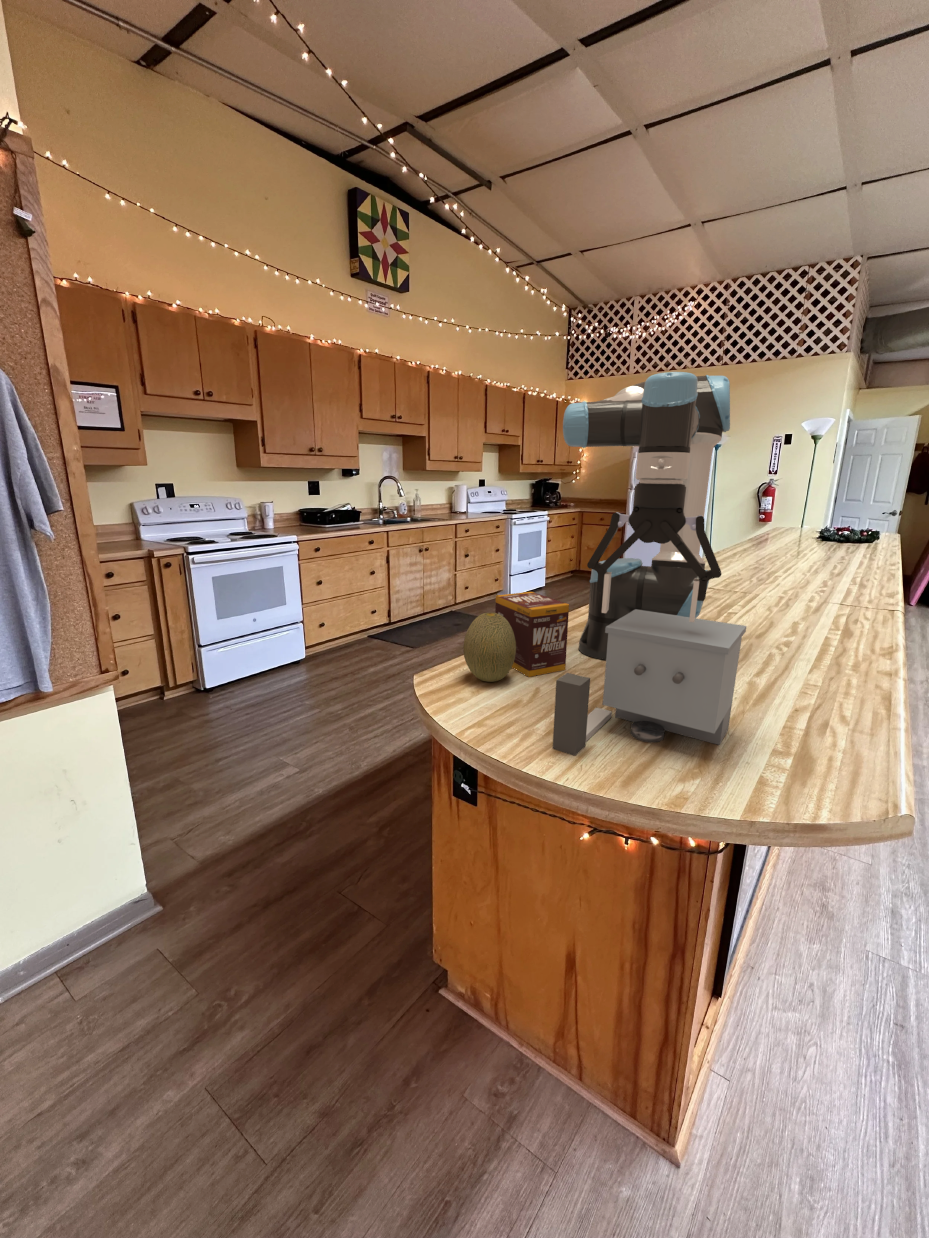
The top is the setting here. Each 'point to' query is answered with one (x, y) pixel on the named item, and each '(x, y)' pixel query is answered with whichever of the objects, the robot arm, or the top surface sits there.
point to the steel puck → (647, 731)
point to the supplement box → (536, 631)
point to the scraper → (575, 714)
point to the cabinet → (673, 672)
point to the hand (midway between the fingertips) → (647, 615)
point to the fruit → (489, 647)
